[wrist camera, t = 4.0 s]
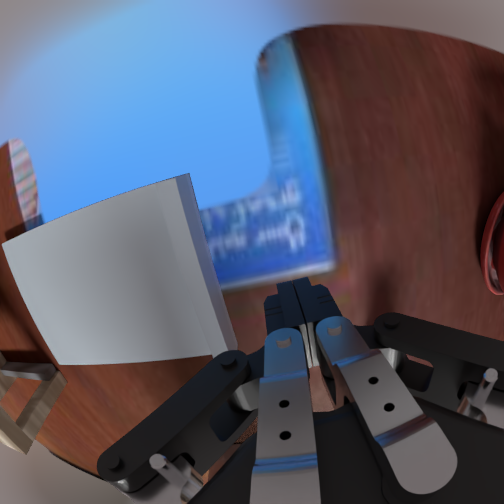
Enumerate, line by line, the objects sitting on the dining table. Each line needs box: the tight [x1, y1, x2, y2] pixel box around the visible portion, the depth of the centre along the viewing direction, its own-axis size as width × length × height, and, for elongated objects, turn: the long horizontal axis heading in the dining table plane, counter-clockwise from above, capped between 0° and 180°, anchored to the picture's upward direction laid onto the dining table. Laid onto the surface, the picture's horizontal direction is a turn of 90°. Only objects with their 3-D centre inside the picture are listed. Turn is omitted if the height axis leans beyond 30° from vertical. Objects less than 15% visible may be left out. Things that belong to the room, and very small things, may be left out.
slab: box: [2, 173, 238, 365], centre depth 19 cm, size 20×14×4 cm
